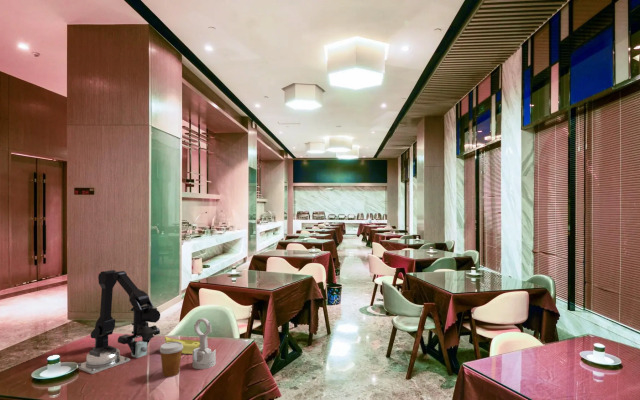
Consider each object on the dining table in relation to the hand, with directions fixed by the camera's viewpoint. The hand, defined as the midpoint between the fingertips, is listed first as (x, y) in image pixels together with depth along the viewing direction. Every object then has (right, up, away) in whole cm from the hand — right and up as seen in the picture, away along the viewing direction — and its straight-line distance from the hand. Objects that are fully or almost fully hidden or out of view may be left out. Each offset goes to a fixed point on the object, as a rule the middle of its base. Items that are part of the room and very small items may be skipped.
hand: (139, 353), depth 178 cm
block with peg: (0, -1, 0) cm, 1 cm away
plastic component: (+20, -2, +7) cm, 21 cm away
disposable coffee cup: (+24, 0, -22) cm, 33 cm away
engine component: (+35, 0, -12) cm, 37 cm away
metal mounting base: (-11, -1, -11) cm, 16 cm away
